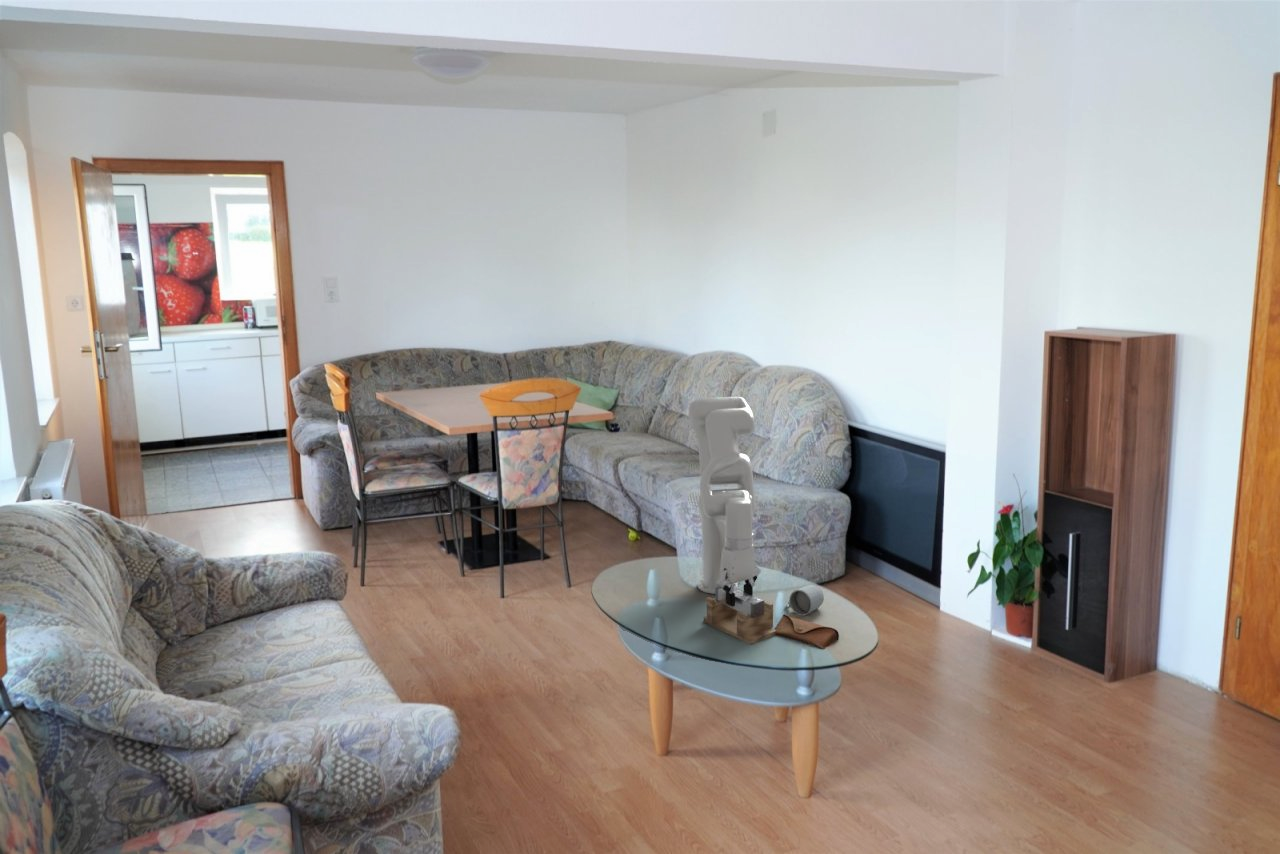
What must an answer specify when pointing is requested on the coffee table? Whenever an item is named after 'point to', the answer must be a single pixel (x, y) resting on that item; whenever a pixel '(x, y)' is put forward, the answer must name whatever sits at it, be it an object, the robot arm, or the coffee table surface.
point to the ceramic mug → (806, 599)
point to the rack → (740, 621)
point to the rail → (742, 602)
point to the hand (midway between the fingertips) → (739, 601)
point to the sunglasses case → (806, 632)
